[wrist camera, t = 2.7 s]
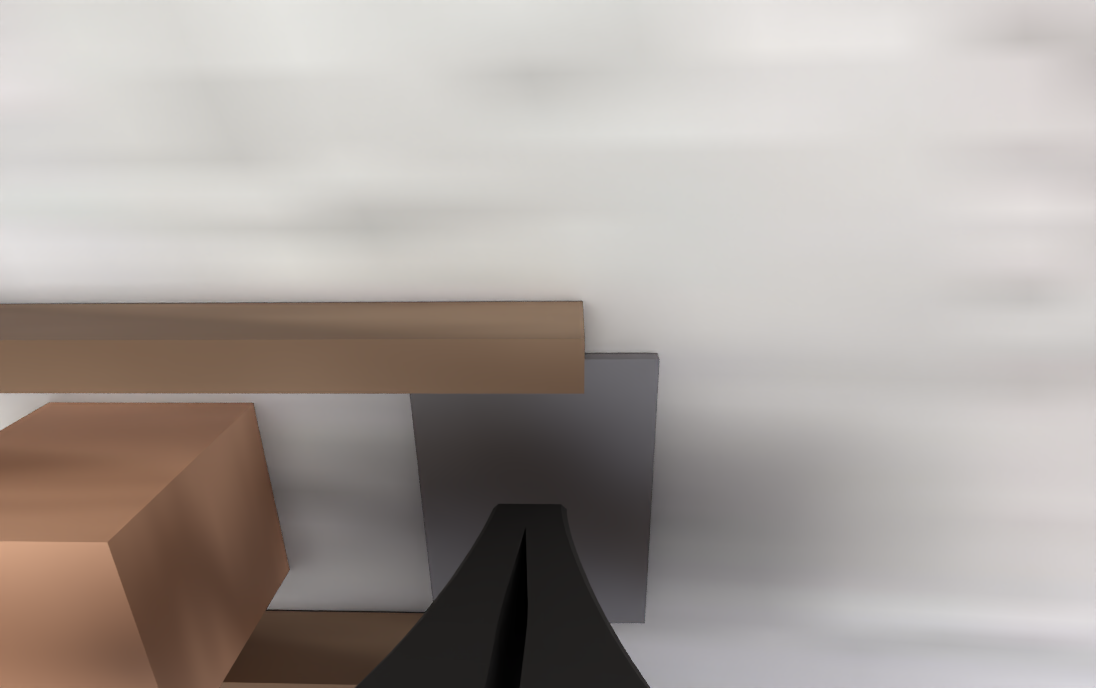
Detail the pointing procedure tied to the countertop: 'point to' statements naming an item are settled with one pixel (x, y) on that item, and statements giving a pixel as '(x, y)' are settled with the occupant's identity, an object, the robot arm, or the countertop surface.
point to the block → (133, 544)
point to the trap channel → (438, 418)
